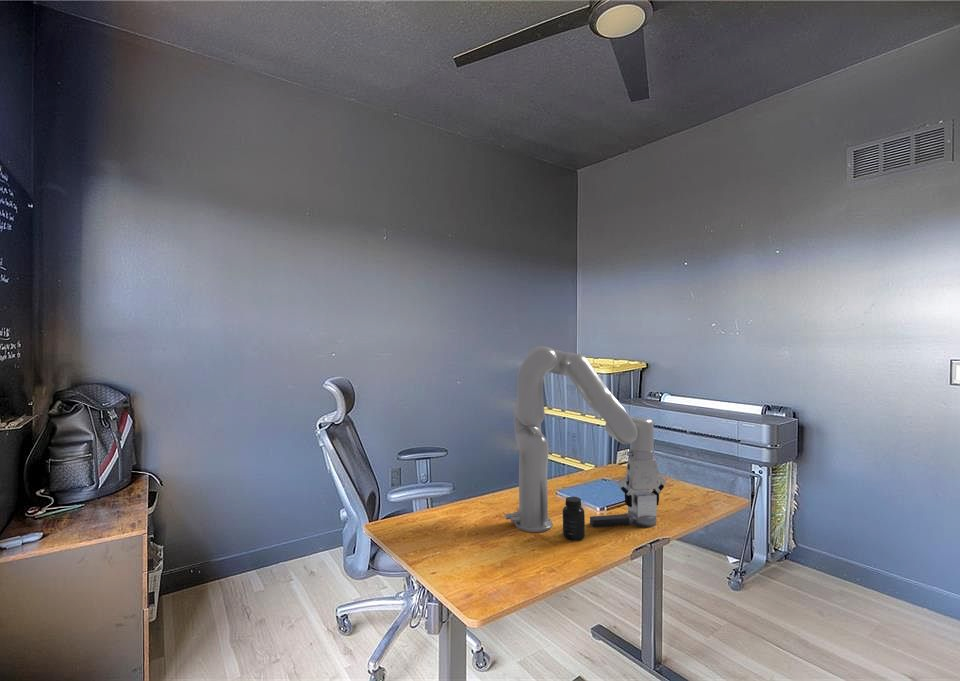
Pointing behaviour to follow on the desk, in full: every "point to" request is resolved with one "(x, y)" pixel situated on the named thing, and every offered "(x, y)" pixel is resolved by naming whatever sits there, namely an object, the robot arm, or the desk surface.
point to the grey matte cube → (643, 503)
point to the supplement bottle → (573, 519)
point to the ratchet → (622, 520)
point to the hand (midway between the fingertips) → (642, 504)
